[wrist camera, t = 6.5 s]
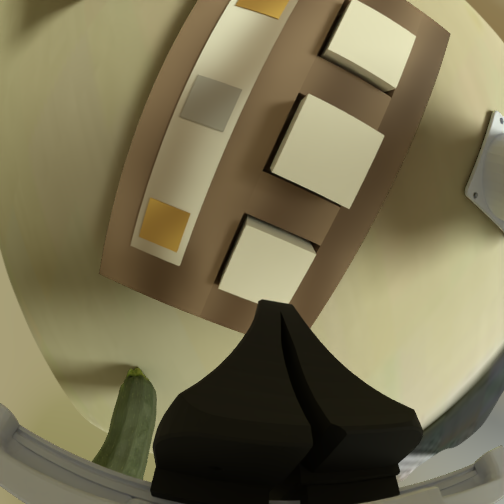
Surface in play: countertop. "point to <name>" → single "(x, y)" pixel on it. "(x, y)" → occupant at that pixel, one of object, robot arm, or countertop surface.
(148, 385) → the vegetable
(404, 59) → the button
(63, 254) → the countertop surface
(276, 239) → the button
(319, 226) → the button board
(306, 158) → the middle button
